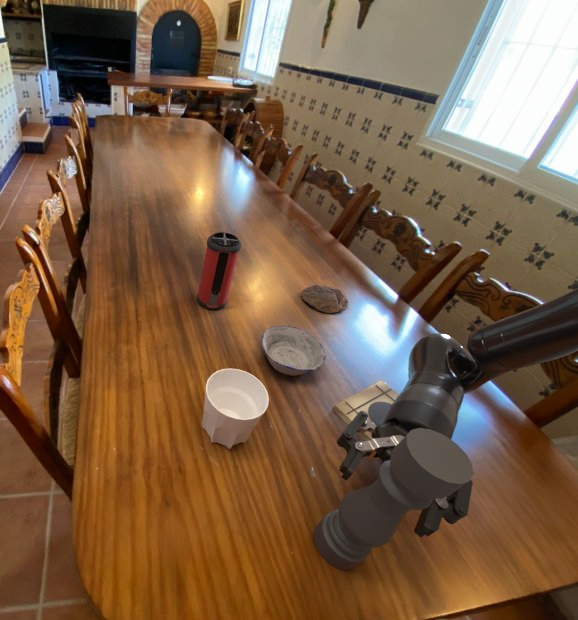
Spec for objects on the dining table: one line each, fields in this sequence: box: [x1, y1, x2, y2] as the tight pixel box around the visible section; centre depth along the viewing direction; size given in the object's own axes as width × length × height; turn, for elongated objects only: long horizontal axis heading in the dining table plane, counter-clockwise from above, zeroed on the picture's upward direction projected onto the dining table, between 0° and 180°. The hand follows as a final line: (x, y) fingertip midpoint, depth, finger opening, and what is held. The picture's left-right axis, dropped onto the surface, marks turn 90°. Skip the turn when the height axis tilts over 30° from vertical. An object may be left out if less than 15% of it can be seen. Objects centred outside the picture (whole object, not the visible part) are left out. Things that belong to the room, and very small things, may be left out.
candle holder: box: [312, 428, 474, 571], centre depth 42 cm, size 6×6×25 cm
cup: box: [200, 367, 270, 450], centre depth 60 cm, size 10×10×10 cm
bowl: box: [261, 325, 327, 377], centre depth 75 cm, size 13×13×5 cm
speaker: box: [196, 231, 242, 310], centre depth 86 cm, size 8×8×18 cm
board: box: [332, 379, 400, 441], centre depth 66 cm, size 14×14×2 cm
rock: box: [300, 284, 349, 314], centre depth 94 cm, size 11×12×3 cm
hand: (382, 503), depth 42 cm, fingers open, 8 cm apart
